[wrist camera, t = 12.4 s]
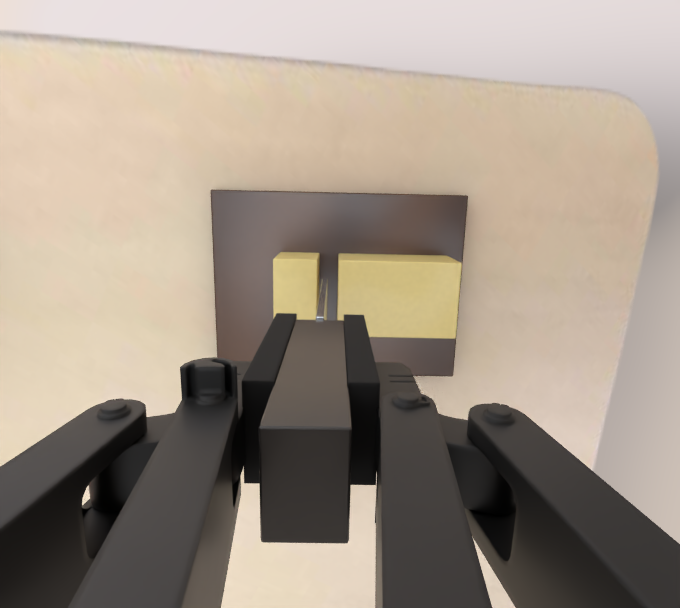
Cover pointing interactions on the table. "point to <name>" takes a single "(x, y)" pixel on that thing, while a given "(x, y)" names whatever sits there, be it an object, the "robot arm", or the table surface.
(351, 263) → the butter block
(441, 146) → the table surface
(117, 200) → the table surface
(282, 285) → the butter slice
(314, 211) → the butter board
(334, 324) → the butter knife
